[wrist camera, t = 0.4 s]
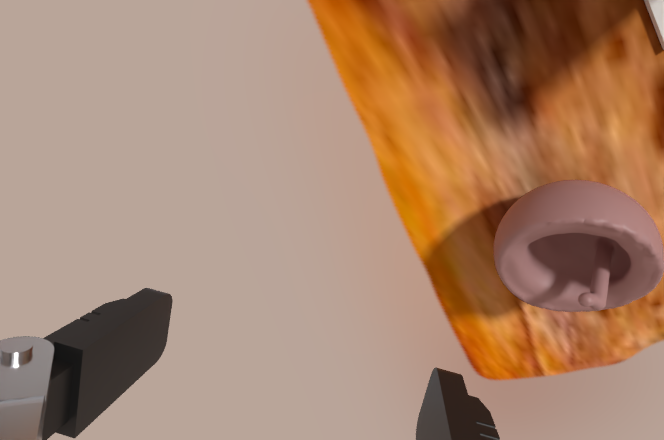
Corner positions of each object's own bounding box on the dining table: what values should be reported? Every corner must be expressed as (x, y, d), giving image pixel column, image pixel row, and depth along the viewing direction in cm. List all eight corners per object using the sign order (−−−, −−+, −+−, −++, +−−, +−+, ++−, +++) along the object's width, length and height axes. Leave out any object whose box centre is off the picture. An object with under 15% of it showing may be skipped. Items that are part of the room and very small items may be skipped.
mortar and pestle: (453, 236, 41) (483, 305, 30) (540, 137, 36) (611, 177, 26) (544, 294, 43) (602, 377, 32) (638, 206, 38) (740, 270, 28)
